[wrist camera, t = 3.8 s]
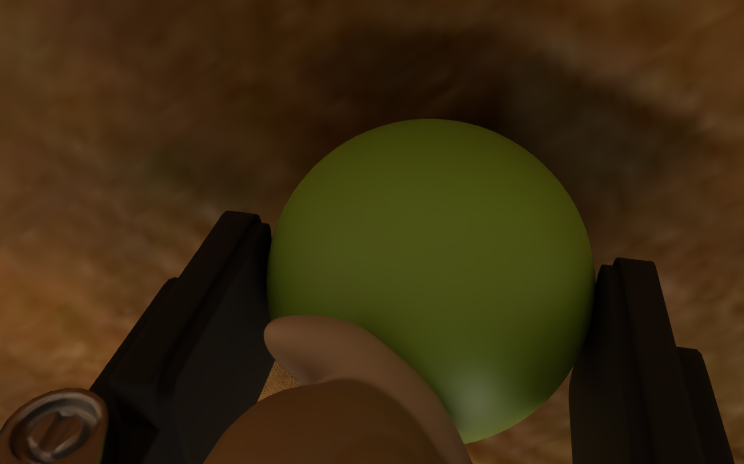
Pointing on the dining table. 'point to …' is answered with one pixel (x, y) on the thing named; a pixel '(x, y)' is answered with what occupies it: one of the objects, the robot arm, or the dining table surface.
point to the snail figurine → (417, 300)
